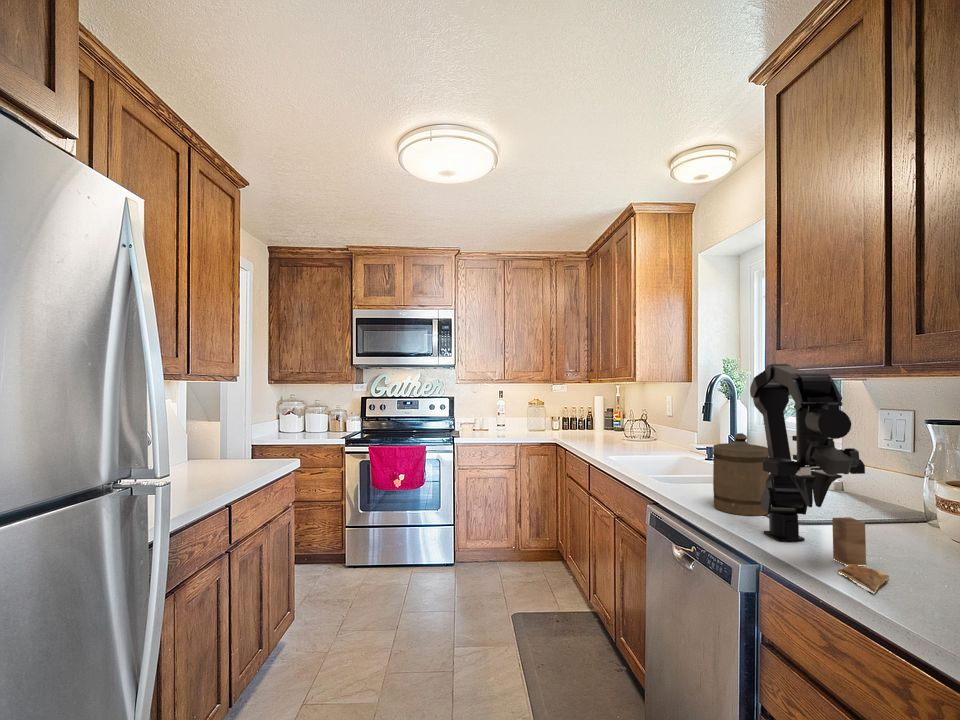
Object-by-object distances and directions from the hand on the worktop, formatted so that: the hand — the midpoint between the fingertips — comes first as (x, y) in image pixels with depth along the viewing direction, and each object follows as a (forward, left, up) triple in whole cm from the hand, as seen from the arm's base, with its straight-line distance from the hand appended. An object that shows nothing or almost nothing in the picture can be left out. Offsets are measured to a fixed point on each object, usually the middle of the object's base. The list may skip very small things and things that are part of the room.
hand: (813, 506), depth 108 cm
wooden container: (-42, +8, -12) cm, 45 cm away
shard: (+9, +4, -13) cm, 16 cm away
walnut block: (0, +7, -12) cm, 14 cm away
